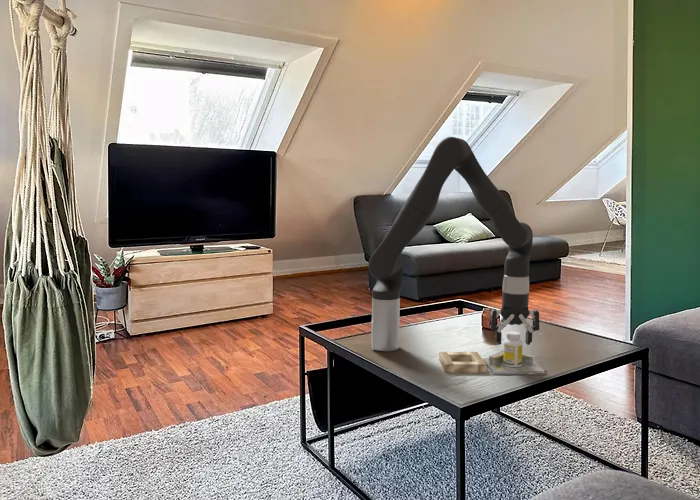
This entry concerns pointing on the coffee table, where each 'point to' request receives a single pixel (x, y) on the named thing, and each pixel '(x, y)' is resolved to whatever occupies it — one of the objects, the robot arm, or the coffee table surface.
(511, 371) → the v block
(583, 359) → the coffee table surface
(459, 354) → the square frame block
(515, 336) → the supplement bottle
